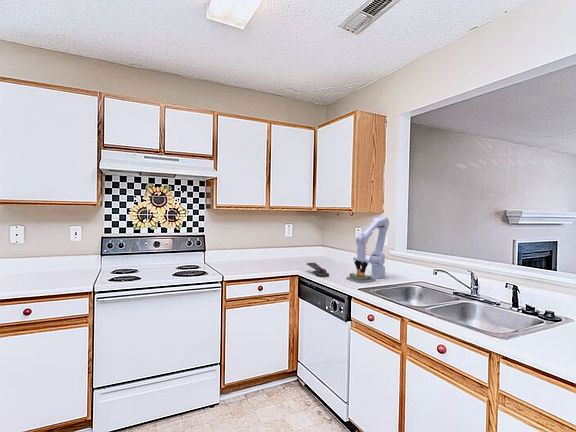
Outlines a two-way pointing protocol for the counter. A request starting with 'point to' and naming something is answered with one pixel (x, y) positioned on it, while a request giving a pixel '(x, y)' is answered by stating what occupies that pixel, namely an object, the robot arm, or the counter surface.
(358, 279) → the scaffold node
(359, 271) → the wooden rectangular peg
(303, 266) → the counter surface
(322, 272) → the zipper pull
